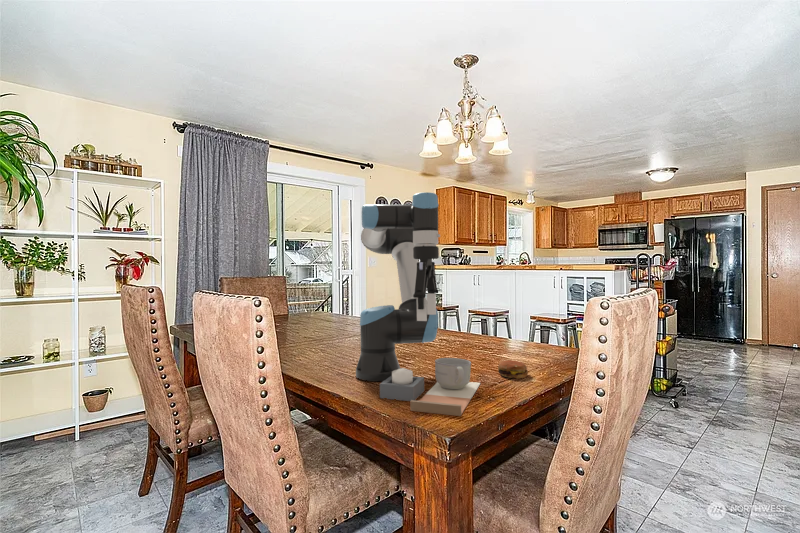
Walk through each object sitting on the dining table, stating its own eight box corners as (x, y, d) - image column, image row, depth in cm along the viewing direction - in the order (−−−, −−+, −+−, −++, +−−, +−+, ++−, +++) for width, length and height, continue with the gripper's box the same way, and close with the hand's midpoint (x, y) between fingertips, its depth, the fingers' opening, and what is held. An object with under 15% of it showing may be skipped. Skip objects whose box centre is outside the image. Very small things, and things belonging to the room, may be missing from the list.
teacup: (434, 381, 131) (434, 356, 131) (469, 381, 130) (468, 356, 130) (437, 395, 117) (436, 367, 117) (475, 395, 116) (475, 367, 116)
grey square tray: (379, 398, 117) (379, 383, 117) (392, 387, 126) (392, 374, 126) (413, 401, 113) (413, 386, 113) (424, 390, 123) (424, 377, 123)
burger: (514, 370, 144) (514, 357, 144) (533, 377, 136) (533, 362, 136) (491, 374, 140) (491, 360, 140) (509, 381, 132) (509, 366, 132)
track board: (410, 410, 106) (410, 401, 106) (439, 380, 133) (439, 373, 133) (460, 416, 102) (460, 406, 102) (480, 383, 129) (480, 376, 129)
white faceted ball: (389, 391, 118) (388, 370, 118) (396, 385, 124) (396, 365, 124) (408, 393, 116) (408, 371, 116) (415, 387, 121) (415, 366, 121)
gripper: (429, 244, 110) (430, 324, 110) (445, 246, 134) (446, 312, 134) (402, 244, 112) (403, 323, 112) (422, 247, 136) (423, 311, 136)
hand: (427, 317), depth 123 cm, fingers open, 13 cm apart
